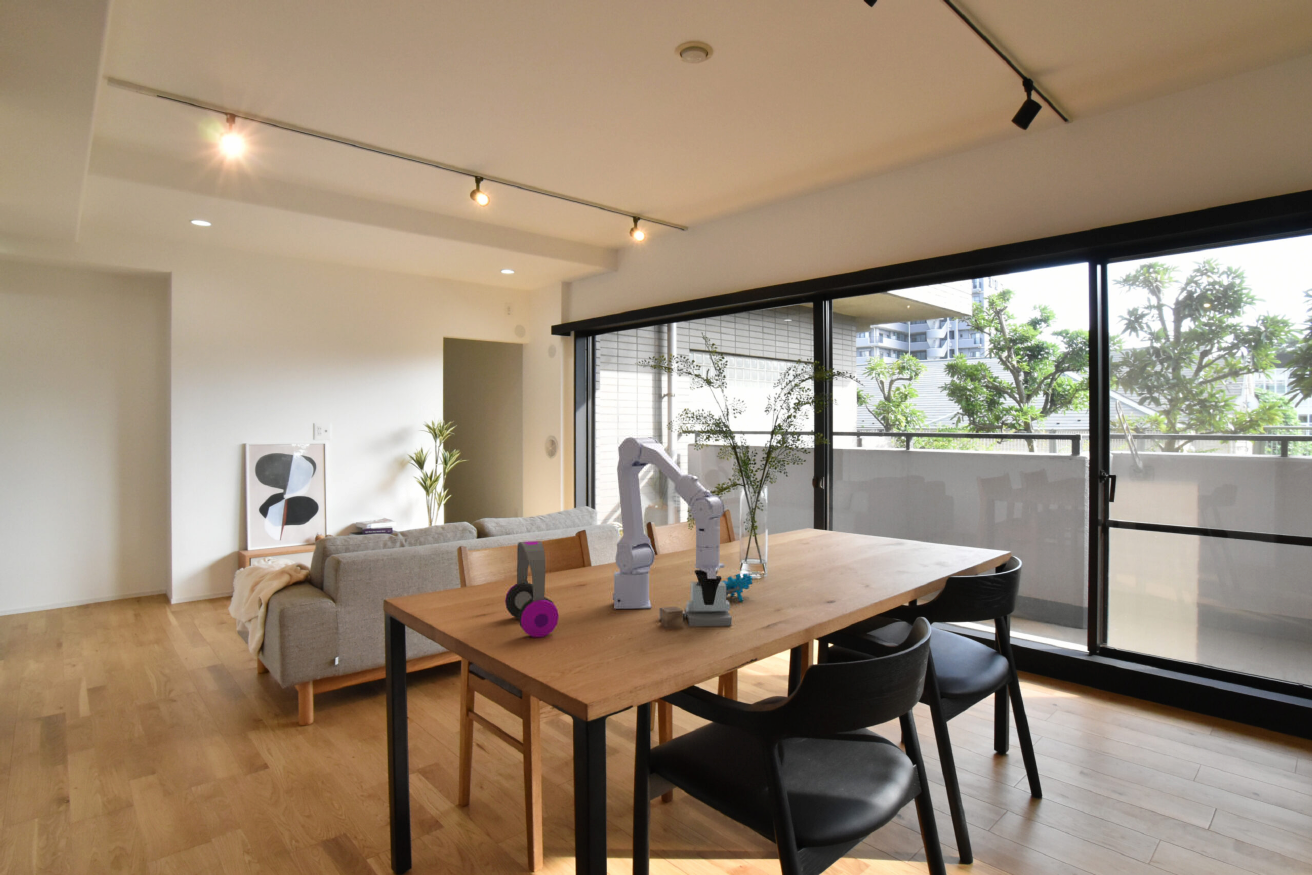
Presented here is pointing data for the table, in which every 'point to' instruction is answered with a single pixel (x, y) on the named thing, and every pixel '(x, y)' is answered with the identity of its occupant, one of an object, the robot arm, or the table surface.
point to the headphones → (531, 592)
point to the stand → (708, 618)
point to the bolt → (660, 614)
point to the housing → (698, 601)
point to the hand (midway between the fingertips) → (707, 602)
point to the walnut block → (671, 617)
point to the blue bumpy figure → (737, 585)
